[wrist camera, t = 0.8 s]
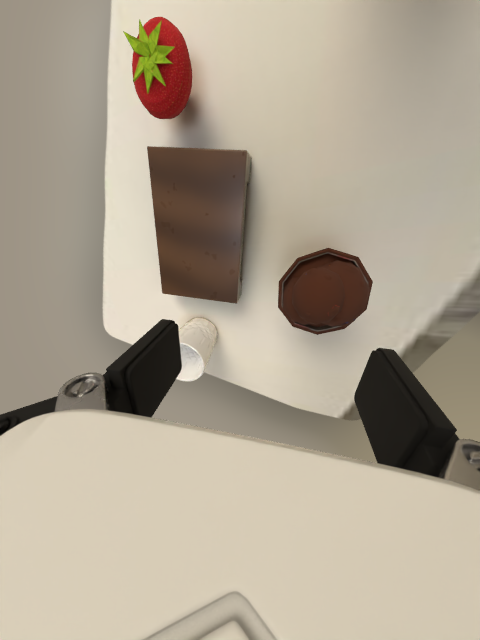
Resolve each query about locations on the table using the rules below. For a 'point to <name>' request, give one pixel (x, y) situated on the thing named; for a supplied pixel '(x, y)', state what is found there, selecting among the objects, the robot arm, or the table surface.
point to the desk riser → (199, 219)
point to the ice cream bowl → (324, 291)
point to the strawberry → (161, 68)
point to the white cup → (196, 347)
